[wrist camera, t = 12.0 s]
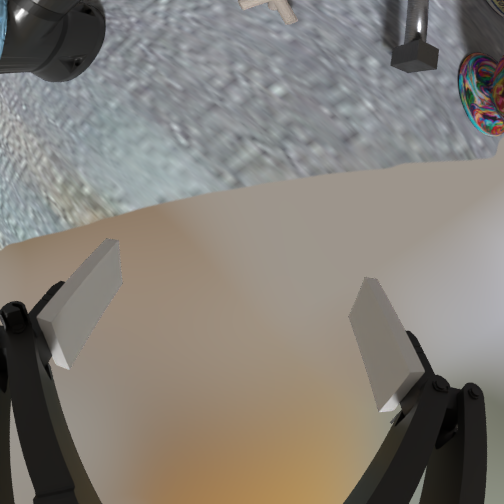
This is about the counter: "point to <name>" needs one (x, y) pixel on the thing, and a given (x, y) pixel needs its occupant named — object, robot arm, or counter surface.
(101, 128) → the counter surface
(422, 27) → the shaft
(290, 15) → the pipe connector
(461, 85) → the vase
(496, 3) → the supplement tub
